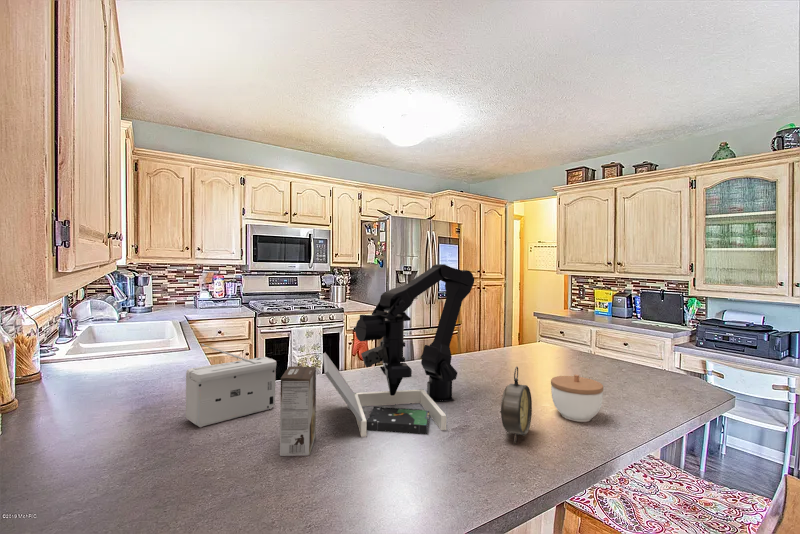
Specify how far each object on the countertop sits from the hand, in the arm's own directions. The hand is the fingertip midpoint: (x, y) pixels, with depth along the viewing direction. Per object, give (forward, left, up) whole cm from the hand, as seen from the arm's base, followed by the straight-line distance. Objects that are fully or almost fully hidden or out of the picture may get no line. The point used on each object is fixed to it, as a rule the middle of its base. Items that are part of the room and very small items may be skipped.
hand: (392, 395), depth 106 cm
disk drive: (0, +10, -5) cm, 11 cm away
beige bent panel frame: (+4, +5, -4) cm, 8 cm away
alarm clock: (-25, +22, -4) cm, 33 cm away
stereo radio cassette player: (+41, -3, -4) cm, 41 cm away
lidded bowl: (-47, +14, -4) cm, 49 cm away
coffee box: (+24, +18, -4) cm, 30 cm away
